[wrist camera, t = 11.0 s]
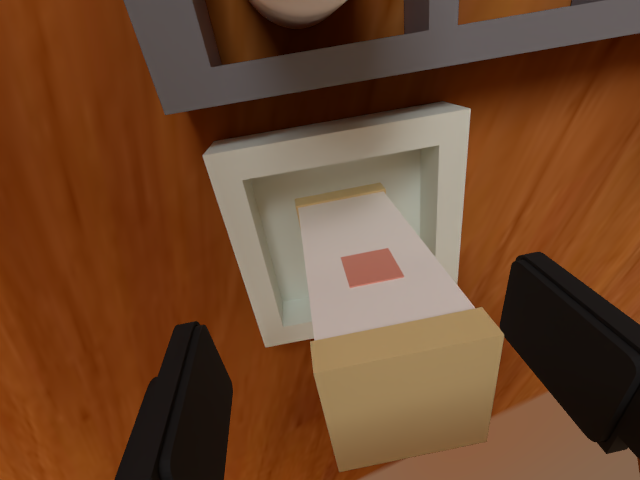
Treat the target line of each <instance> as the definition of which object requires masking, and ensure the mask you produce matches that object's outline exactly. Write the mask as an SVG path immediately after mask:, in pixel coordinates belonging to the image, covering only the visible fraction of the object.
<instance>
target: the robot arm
mask: <svg viewBox="0 0 640 480" xmlns="http://www.w3.org/2000/svg"><path fill="white" fill-rule="evenodd" d="M500 329H501V331H502V332H503V334H504V337H505V338H506V339H507V341H508V342H509V343H510V344H511V345H512V347H513V348H514V349H515V350H516V351H517V353H518V354H519V355H520V356H521V358H522V359H523V360H524V361H525V362H526V364H527V365H528V366H529V367H530V369H531V370H532V371H533V372H534V373H535V375H536V376H537V377H538V378H539V379H540V381H541V382H542V383H543V384H544V386H545V387H546V388H547V389H548V390H549V392H550V393H551V394H552V395H553V397H554V398H555V399H556V400H557V401H558V403H559V404H560V405H561V406H562V407H563V409H564V410H565V411H566V412H567V414H568V415H569V416H570V417H571V418H572V420H573V421H574V422H575V423H576V424H577V426H578V427H579V428H580V429H581V431H582V432H583V433H584V434H585V435H586V436H587V437H588V438H589V439H590V440H591V441H593V442H597V443H598V444H599V446H600V447H601V448H602V449H603V450H604V452H605V453H606V454H608V453H613V452H616V451H621V450H625V449H627V448H628V447H629V449H630V450H631V451H632V452H633V453H634V454H635V455H636V456H637V458H638V465H639V472H640V325H639V324H638V323H636V322H635V321H634V320H632V319H631V318H630V317H628V316H627V315H626V314H624V313H623V312H622V311H620V310H619V309H618V308H616V307H615V306H614V305H612V304H611V303H610V302H608V301H607V300H605V299H604V298H603V297H601V296H600V295H599V294H597V293H596V292H595V291H593V290H592V289H591V288H589V287H588V286H587V285H585V284H584V283H583V282H581V281H580V280H578V279H577V278H576V277H574V276H573V275H572V274H570V273H569V272H568V271H566V270H565V269H564V268H562V267H561V266H560V265H558V264H557V263H556V262H554V261H553V260H551V259H550V258H549V257H547V256H546V255H545V254H543V253H541V252H535V253H530V254H525V255H520V256H518V257H517V258H516V261H515V262H513V263H512V265H511V270H510V275H509V280H508V285H507V290H506V295H505V301H504V306H503V311H502V316H501V321H500ZM232 395H233V388H232V382H231V380H230V378H229V375H228V373H227V371H226V369H225V367H224V364H223V362H222V360H221V358H220V356H219V353H218V351H217V349H216V347H215V345H214V342H213V340H212V338H211V336H210V334H209V331H208V329H207V327H206V326H205V325H200V324H199V323H198V322H197V321H195V322H190V323H185V324H180V325H176V326H175V328H174V330H173V333H172V336H171V339H170V342H169V345H168V348H167V351H166V354H165V357H164V360H163V363H162V366H161V368H160V371H159V374H158V377H155V378H153V379H152V380H151V381H150V383H149V385H148V388H147V391H146V393H145V396H144V399H143V402H142V404H141V407H140V410H139V413H138V416H137V418H136V421H135V424H134V427H133V430H132V432H131V435H130V438H129V441H128V444H127V446H126V449H125V452H124V455H123V457H122V460H121V463H120V466H119V469H118V471H117V474H116V477H115V480H224V472H225V463H226V453H227V443H228V434H229V424H230V415H231V405H232Z"/></svg>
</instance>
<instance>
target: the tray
mask: <svg viewBox="0 0 640 480" xmlns="http://www.w3.org/2000/svg"><path fill="white" fill-rule="evenodd" d="M470 113H471V108H467V107H463V106H459V105H455V104H451V103H448V102H444V101H441V102H435V103H430V104H424V105H418V106H412V107H407V108H401V109H395V110H390V111H384V112H378V113H372V114H367V115H361V116H355V117H350V118H344V119H338V120H332V121H327V122H321V123H315V124H310V125H304V126H298V127H292V128H287V129H281V130H275V131H270V132H264V133H258V134H252V135H247V136H241V137H235V138H230V139H224V140H218V141H214V142H213V143H212V144H211V146H210V147H209V148H208V149H207V151H206V152H205V153H204V154H203V159H204V162H205V165H206V168H207V171H208V174H209V178H210V181H211V184H212V187H213V190H214V193H215V196H216V199H217V202H218V205H219V208H220V211H221V214H222V217H223V220H224V223H225V226H226V229H227V232H228V235H229V238H230V241H231V244H232V248H233V251H234V254H235V257H236V260H237V263H238V266H239V269H240V272H241V275H242V278H243V281H244V284H245V287H246V290H247V293H248V296H249V299H250V302H251V305H252V308H253V311H254V314H255V317H256V321H257V324H258V327H259V330H260V333H261V336H262V339H263V342H264V345H265V347H271V346H276V345H281V344H287V343H292V342H297V341H302V340H308V339H313V338H314V333H313V325H312V317H311V309H310V301H309V293H308V284H307V276H306V268H305V260H304V252H303V244H302V236H301V229H300V225H299V220H298V216H297V211H296V206H295V199H297V198H302V197H307V196H313V195H318V194H323V193H328V192H333V191H338V190H344V189H349V188H354V187H359V186H364V185H369V184H375V183H381V184H382V185H383V186H384V188H385V189H386V195H387V196H388V198H389V199H390V200H391V201H392V203H393V204H394V205H395V206H396V208H397V209H398V210H399V212H400V213H401V214H402V215H403V217H404V218H405V219H406V220H407V222H408V223H409V224H410V226H411V227H412V228H413V229H414V231H415V232H416V233H417V235H418V236H419V237H420V238H421V240H422V241H423V242H424V243H425V245H426V246H427V247H428V249H429V250H430V251H431V252H432V254H433V255H434V256H435V257H436V259H437V260H438V261H439V263H440V264H441V265H442V266H443V268H444V269H445V270H446V271H447V273H448V274H449V275H450V277H451V278H452V279H453V280H454V282H455V283H456V284H457V281H458V268H459V255H460V242H461V229H462V216H463V204H464V191H465V178H466V165H467V152H468V139H469V126H470Z"/></svg>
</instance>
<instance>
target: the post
mask: <svg viewBox="0 0 640 480" xmlns="http://www.w3.org/2000/svg"><path fill="white" fill-rule="evenodd" d="M248 1H249V2H250V3H251V4H252V6H253V7H254V8H255V9H256V10H257V11H258V12H259V13H260V14H261V15H262V16H263V17H265V18H266V19H268V20H269V21H271V22H273V23H275V24H277V25H279V26H282V27H286V28H293V29H301V28H307V27H311V26H314V25H316V24H318V23H320V22H322V21H323V20H325V19H326V18H327V17H329V16H330V15H331V14H332V13H333V12H335V11H336V10H337V9H338V8H339V7H340V6H341V5H343V4H344V3H345V2H346V1H347V0H248Z"/></svg>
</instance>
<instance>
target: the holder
mask: <svg viewBox="0 0 640 480" xmlns="http://www.w3.org/2000/svg"><path fill="white" fill-rule="evenodd" d="M124 3H125V6H126V9H127V11H128V14H129V17H130V20H131V22H132V25H133V28H134V31H135V33H136V36H137V39H138V42H139V44H140V47H141V50H142V53H143V55H144V58H145V61H146V64H147V66H148V69H149V72H150V75H151V77H152V80H153V83H154V86H155V88H156V91H157V94H158V97H159V99H160V102H161V105H162V108H163V111H164V113H165V115H168V114H174V113H180V112H185V111H191V110H197V109H203V108H209V107H214V106H220V105H226V104H232V103H238V102H243V101H249V100H255V99H261V98H266V97H272V96H278V95H284V94H290V93H295V92H301V91H307V90H313V89H319V88H324V87H330V86H336V85H342V84H348V83H353V82H359V81H365V80H371V79H376V78H382V77H388V76H394V75H400V74H405V73H411V72H417V71H423V70H429V69H434V68H440V67H446V66H452V65H458V64H463V63H469V62H475V61H481V60H486V59H492V58H498V57H504V56H510V55H515V54H521V53H527V52H533V51H539V50H544V49H550V48H556V47H562V46H568V45H573V44H579V43H585V42H591V41H596V40H602V39H608V38H614V37H620V36H625V35H631V34H637V33H640V0H572V3H571V6H569V7H563V8H557V9H551V10H545V11H539V12H533V13H527V14H522V15H516V16H510V17H504V18H498V19H492V20H486V21H480V22H475V23H469V24H463V25H458V8H459V0H404V30H405V34H404V35H398V36H392V37H386V38H380V39H375V40H369V41H363V42H357V43H351V44H345V45H339V46H333V47H328V48H322V49H316V50H310V51H304V52H298V53H292V54H286V55H280V56H275V57H269V58H263V59H257V60H251V61H245V62H239V63H233V64H228V65H222V63H221V60H220V56H219V52H218V48H217V44H216V40H215V37H214V33H213V29H212V25H211V21H210V18H209V14H208V10H207V6H206V2H205V0H124Z"/></svg>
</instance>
